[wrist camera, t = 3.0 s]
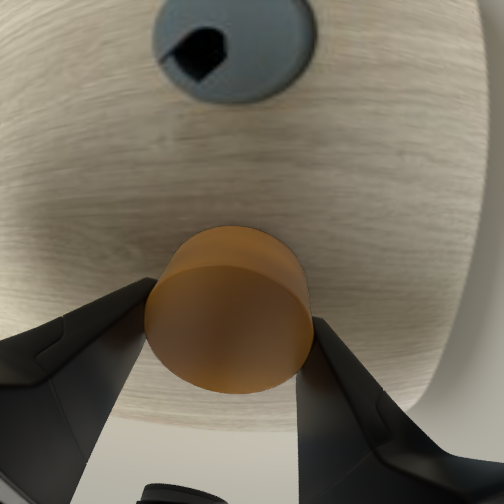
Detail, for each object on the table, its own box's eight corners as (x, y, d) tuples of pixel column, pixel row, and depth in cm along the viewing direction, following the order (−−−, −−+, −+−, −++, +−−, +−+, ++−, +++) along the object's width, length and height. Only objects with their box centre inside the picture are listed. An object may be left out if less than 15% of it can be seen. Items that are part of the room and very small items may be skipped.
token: (330, 312, 10) (341, 363, 8) (219, 359, 12) (208, 408, 10) (259, 196, 9) (253, 227, 7) (140, 267, 10) (110, 309, 8)
